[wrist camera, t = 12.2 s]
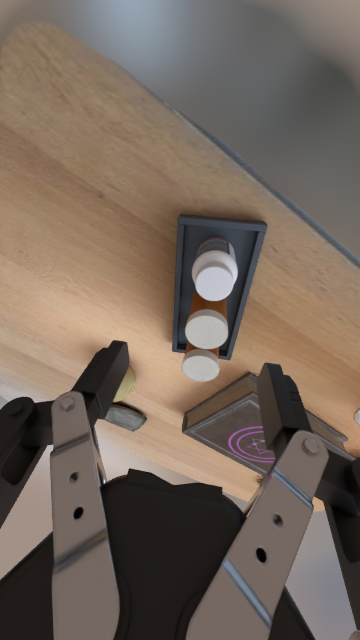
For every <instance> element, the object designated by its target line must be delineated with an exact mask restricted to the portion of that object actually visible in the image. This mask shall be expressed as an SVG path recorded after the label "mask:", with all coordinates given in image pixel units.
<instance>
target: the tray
mask: <svg viewBox="0 0 360 640" xmlns="http://www.w3.org/2000/svg"><path fill="white" fill-rule="evenodd" d="M266 229H267V224H266V223H265V222H261V221H250V220H239V219H227V218H216V217H205V216H194V215H183V214H181V215H180V216H179V217H178V233H177V255H176V277H175V299H174V321H173V342H172V351H173V352H179V353H185V352H186V347H187V342H188V339H187V337H186V335H185V328H186V324H187V320H188V318H189V314H190V310H191V305H192V301H193V296H194V293H195V291H196V287H195V283H194V281H193V278H192V267H193V264H194V260H195V257H196V253H197V250H198V248H199V246H200V245H201V244H202V243H203V242H204V241H206V240H207V239H210V238H214V237H219V238H223V239H225V240H227V241H228V242H229V243H230V244H231V245H232V247H233V249H234V251H235V256H236V263H237V268H238V275H237V279H236V281H235V283H234V285H233V289H232V291H231V293H230V294H229V295H228V296H227V297H226V312H227V324H228V337H227V339H226V341H225V342H224V343H223V344H222V345H221V346H219V359H224V360H230V359H231V355H232V352H233V348H234V344H235V341H236V337H237V334H238V330H239V326H240V323H241V319H242V316H243V312H244V308H245V305H246V301H247V297H248V294H249V290H250V287H251V283H252V279H253V276H254V272H255V269H256V265H257V261H258V258H259V254H260V251H261V247H262V243H263V240H264V236H265V232H266Z"/></svg>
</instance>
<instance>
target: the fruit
mask: <svg viewBox="0 0 360 640" xmlns="http://www.w3.org/2000/svg"><path fill="white" fill-rule="evenodd" d="M135 386H136V375H135V373H134V371H133V369H132V368H131V367H130V366H129V367H128V370H127V372H126V374H125V376H124V378H123V381H122V383H121V385H120V387H119V389H118V391H117V394H116V396H115V398H114V400H113V402H118V401H121V400H123V399H124V398H126V397H127V396H129V395H130V394H131V393H132V392H133V390H134V388H135Z"/></svg>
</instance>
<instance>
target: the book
mask: <svg viewBox="0 0 360 640" xmlns="http://www.w3.org/2000/svg"><path fill="white" fill-rule="evenodd" d="M257 380H258V377H257V376H255V375H254V374H252V373H251V372H250V373H248V374H246V375H245V376H243V377H242V378H240V379H238V380H237V381H235V382H234V383H232V384H231V385H229V386H227V387H226V388H224V389H223V390H221V391H219V392H218V393H216V394H215V395H213V396H212V397H210V398H208V399H207V400H205V401H204V402H202V403H201V404H199V405H197V406H196V407H194V408H193V409H191V410H189V411H188V412H186V413H185V415H184V419H183V424H182V433H184V434H185V435H187V436H189V437H191V438H193V439H195V440H197V441H199V442H201V443H202V444H204V445H206V446H208V447H210V448H212V449H214V450H216V451H217V452H219V453H221V454H223V455H225V456H227V457H229V458H231V459H233V460H234V461H236V462H238V463H240V464H242V465H244V466H246V467H248V468H249V469H251V470H253V471H255V472H257V473H259V474H261V475H263V476H265V475H266V473H267V472H268V470H269V468H270V467H271V465H272V463H273V462H274V460H275V454H274V452H273V451H268V450H266V444H265V438H264V432H263V426H262V420H261V414H260V408H259V402H258V396H257V390H256V385H257ZM305 411H306V414H307V417H308V420H309V423H310V426H311V428H312V431H313V433H314V435H316V436H317V437H318V438H319V439H320V440H321V441H322V442H323V443H324V445H325V446H326V448H327V449H329V450H331V451H332V452H334V453H336V454H338V455H341V456H343V457H345V458H347V459H349V460H351V461H353V460H355V459H356V457H354V456H353V455H351V454H349V453H348V452H346V450H345V448H344V445H343V442H344V441H348V438H347V437H345V436H344V435H342V434H341V433H339V432H338V431H336V430H335V429H334V428H332V427H331V426H329V425H328V424H326V423H325V422H323V421H322V420H320V419H319V418H317V417H316V416H314V415H313V414H311V413H310V412H308V411H307V410H305Z"/></svg>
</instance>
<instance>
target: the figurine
mask: <svg viewBox="0 0 360 640" xmlns="http://www.w3.org/2000/svg"><path fill="white" fill-rule="evenodd" d="M354 419H355V421H356V422H357V423H358V424H359V425H360V410H358V411H357V412H356V414H355V416H354Z"/></svg>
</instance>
